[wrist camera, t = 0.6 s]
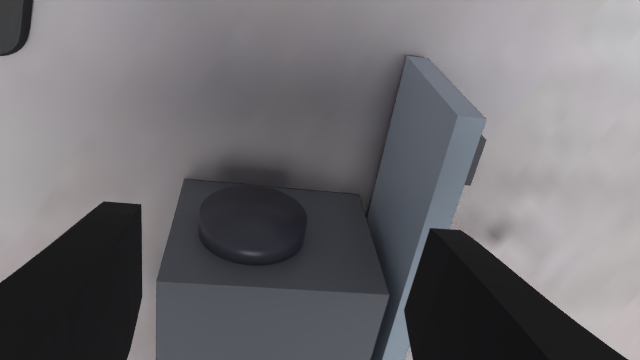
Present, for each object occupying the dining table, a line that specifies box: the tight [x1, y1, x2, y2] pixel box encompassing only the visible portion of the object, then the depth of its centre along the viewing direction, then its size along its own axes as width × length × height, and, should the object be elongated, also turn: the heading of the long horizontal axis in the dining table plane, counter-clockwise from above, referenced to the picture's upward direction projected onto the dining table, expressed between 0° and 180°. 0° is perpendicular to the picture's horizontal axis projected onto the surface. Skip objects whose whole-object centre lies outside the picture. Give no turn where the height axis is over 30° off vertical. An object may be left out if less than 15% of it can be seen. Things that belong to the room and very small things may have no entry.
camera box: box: [156, 179, 389, 360], centre depth 20 cm, size 10×7×7 cm
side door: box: [367, 56, 486, 360], centre depth 20 cm, size 16×2×6 cm, turn 171°
